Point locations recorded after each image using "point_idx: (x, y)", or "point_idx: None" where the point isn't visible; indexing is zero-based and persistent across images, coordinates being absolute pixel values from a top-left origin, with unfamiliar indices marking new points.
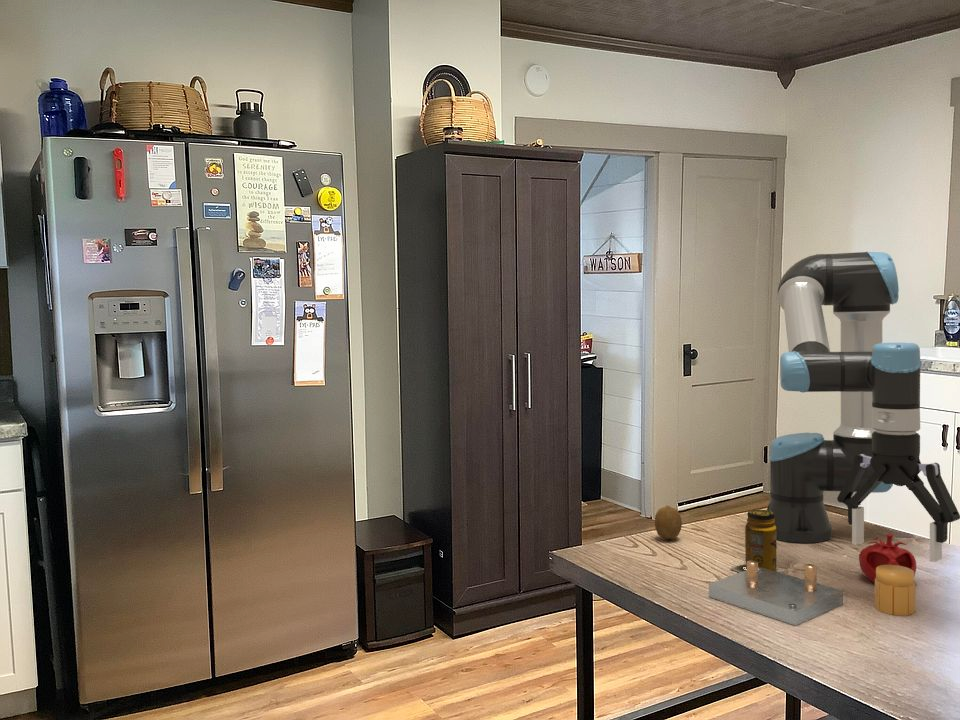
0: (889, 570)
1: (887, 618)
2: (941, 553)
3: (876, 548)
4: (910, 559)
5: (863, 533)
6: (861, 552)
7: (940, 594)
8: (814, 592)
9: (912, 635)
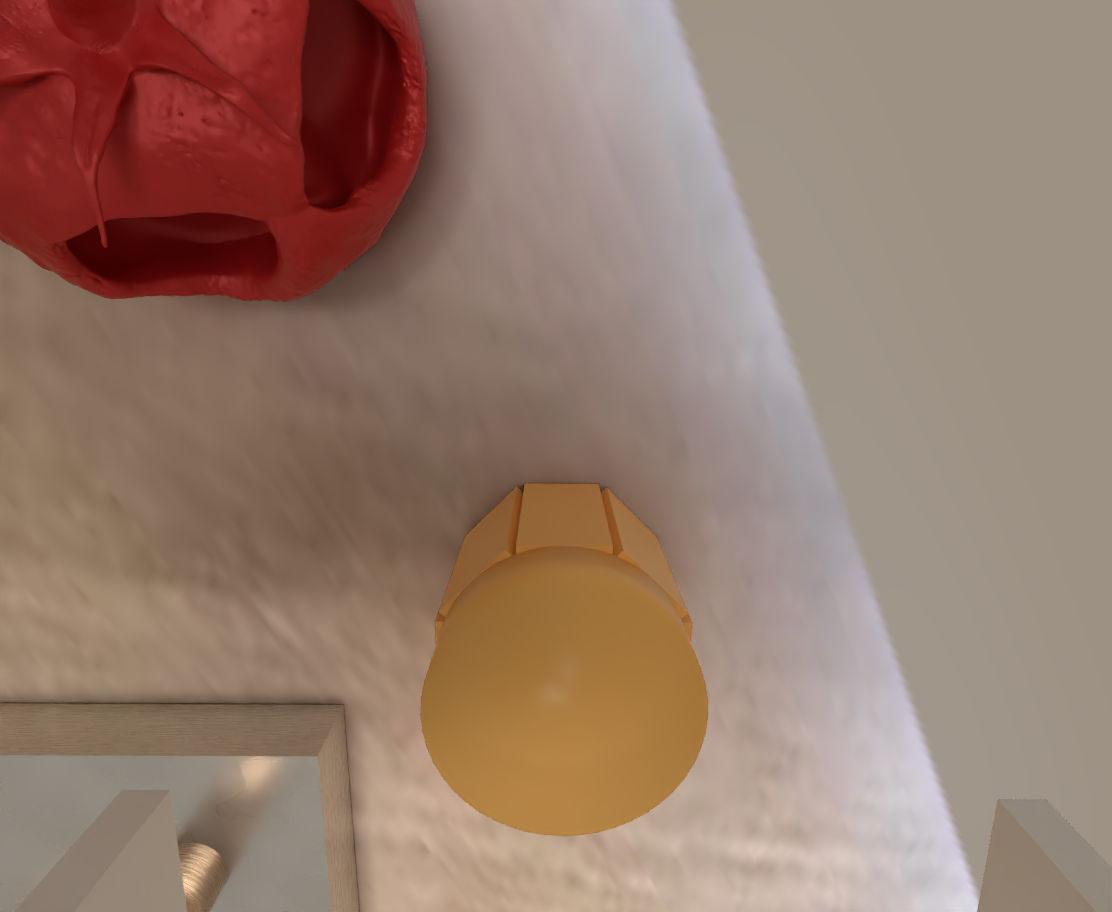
0: (538, 750)
1: None
2: (1091, 853)
3: (63, 170)
4: None
5: (102, 891)
6: None
7: (637, 117)
8: (235, 886)
9: (774, 818)
